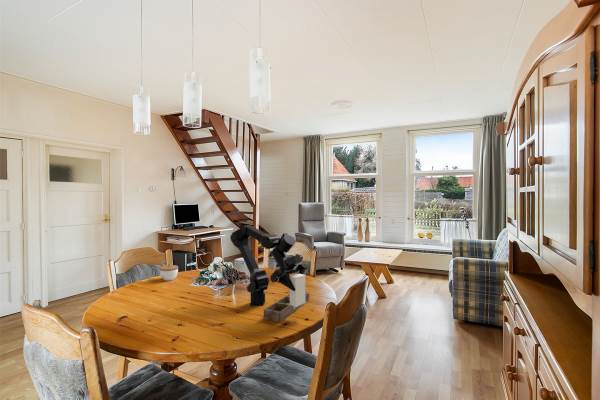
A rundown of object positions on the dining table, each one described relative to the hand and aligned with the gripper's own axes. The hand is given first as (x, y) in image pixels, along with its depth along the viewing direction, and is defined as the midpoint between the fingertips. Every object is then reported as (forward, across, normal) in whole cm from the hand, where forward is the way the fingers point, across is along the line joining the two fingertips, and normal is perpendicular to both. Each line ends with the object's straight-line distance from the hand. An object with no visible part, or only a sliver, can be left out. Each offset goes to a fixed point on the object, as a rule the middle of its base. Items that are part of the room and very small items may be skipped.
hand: (300, 288), depth 127 cm
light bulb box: (-46, +28, +64) cm, 84 cm away
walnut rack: (+1, +5, +18) cm, 18 cm away
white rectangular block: (+4, 0, +6) cm, 7 cm away
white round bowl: (-63, -11, +82) cm, 104 cm away
